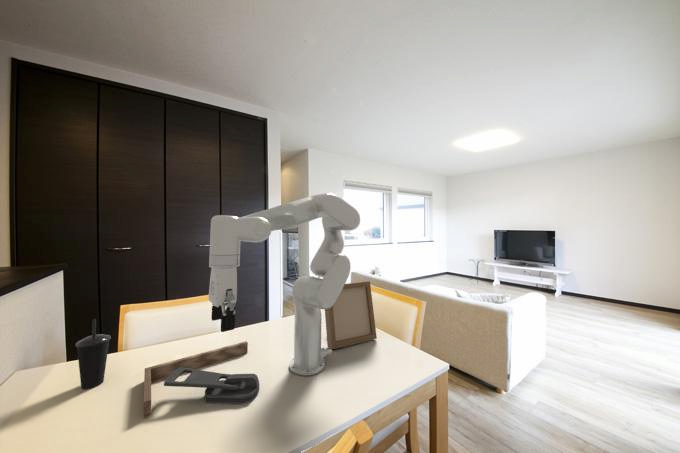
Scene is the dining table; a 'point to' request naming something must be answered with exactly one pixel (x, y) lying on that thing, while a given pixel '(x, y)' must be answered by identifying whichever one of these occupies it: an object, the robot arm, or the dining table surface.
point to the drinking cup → (92, 358)
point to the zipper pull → (218, 385)
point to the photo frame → (351, 316)
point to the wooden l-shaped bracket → (187, 362)
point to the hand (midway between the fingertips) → (222, 324)
